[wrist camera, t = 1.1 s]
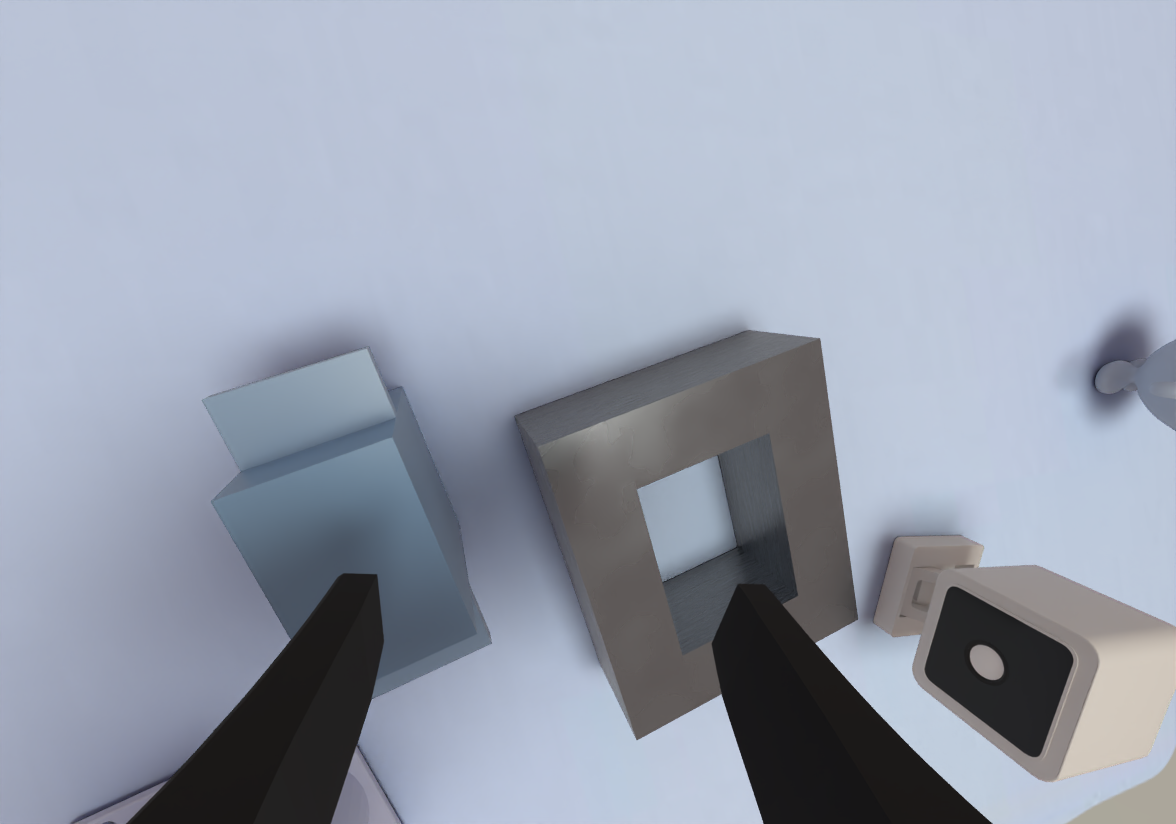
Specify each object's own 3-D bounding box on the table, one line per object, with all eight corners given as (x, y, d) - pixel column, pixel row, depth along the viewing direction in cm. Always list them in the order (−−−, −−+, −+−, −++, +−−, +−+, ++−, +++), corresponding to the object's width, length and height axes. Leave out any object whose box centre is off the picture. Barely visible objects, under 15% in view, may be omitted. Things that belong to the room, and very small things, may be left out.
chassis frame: (600, 665, 24) (636, 740, 20) (514, 416, 20) (538, 446, 16) (791, 570, 26) (858, 619, 22) (748, 330, 22) (820, 338, 18)
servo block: (379, 607, 20) (359, 757, 14) (261, 370, 17) (163, 418, 11) (476, 565, 21) (500, 688, 14) (380, 333, 18) (357, 357, 11)
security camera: (876, 529, 28) (1105, 648, 18) (965, 528, 30) (1208, 633, 21) (849, 632, 29) (1053, 793, 20) (937, 623, 31) (1155, 763, 22)
